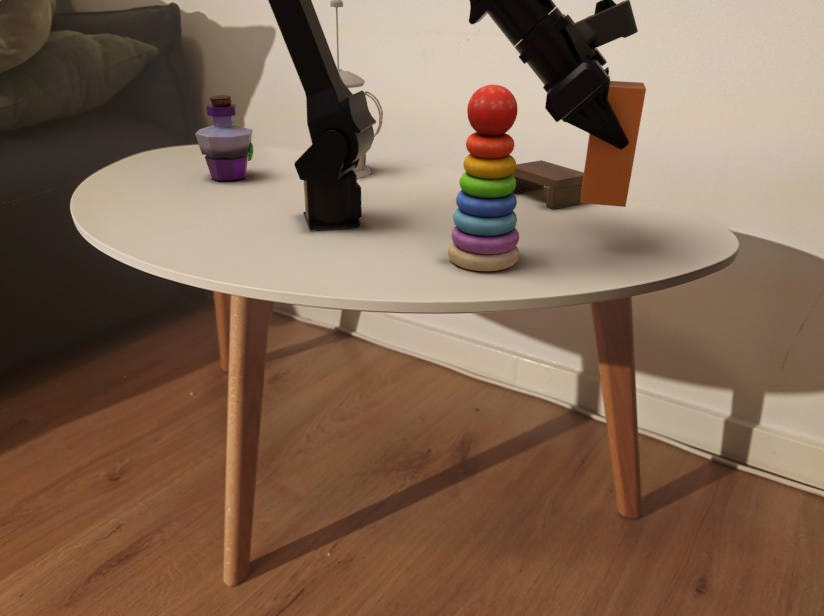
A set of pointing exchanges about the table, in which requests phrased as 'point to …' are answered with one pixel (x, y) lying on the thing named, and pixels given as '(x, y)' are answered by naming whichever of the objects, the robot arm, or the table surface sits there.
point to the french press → (351, 82)
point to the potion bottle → (225, 142)
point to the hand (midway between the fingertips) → (624, 141)
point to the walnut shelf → (550, 182)
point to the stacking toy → (487, 186)
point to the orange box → (614, 149)
